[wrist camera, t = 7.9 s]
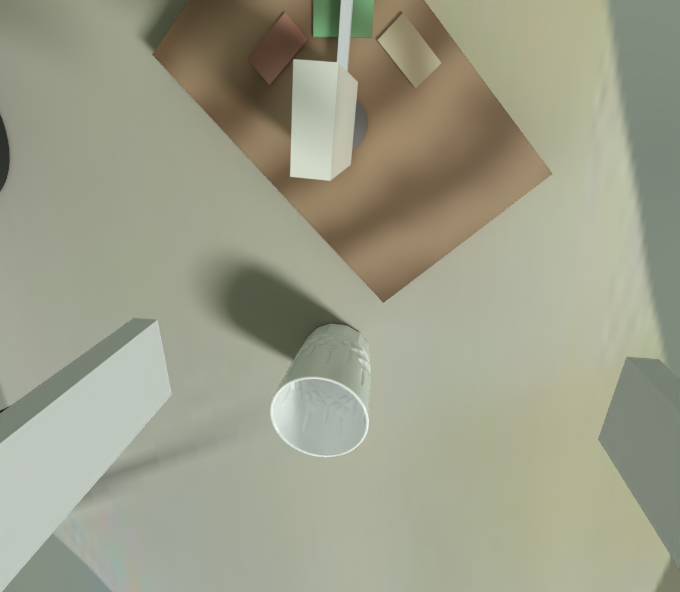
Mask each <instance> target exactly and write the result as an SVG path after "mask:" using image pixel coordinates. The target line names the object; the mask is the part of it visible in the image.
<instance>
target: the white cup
mask: <svg viewBox="0 0 680 592" xmlns="http://www.w3.org/2000/svg"><path fill="white" fill-rule="evenodd" d="M369 405H370V352H369V346H368V343H367V342H366V341H365V339H364V338H363V337H362V335H361V334H360V333H359V332H358V331H356V330H354V329H352V328H351V327H349V326H347V325H341V324H332V323H331V324H327V325H324V326H321V327H318V328H316V329H315V330H314V331H313V332H312V333H311V334H310V335H309V336H308V337H307V339H306V341H305V342H304V344H303V346H302V347H301V349H300V350H299V352H298V353H297V355H296V357H295V359H294V360H293V362H292V363H291V365H290V367H289V369H288V371H287V372H286V374H285V376H284V378H283V380H282V382H281V383H280V385H279V387H278V389H277V391H276V392H275V394H274V396H273V398H272V401H271V404H270V418H271V422H272V424H273V427H274V429H275V430H276V432H277V433H278V435H279V436H280V437H281V438H282V439H283V440H284V441H285V442H286V443H287V444H289V445H290V446H291V447H293V448H295V449H296V450H298V451H301V452H303V453H306V454H309V455H313V456H319V457H334V456H339V455H343V454H345V453H348V452H350V451H352V450H353V449H355V448H356V447H357V446H358V445H359V444H360V443H361V442H362V441H363V439H364V438H365V436H366V434H367V431H368V426H369Z"/></svg>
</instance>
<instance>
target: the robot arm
mask: <svg viewBox="0 0 680 592" xmlns="http://www.w3.org/2000/svg"><path fill="white" fill-rule="evenodd" d="M8 169H9V145H8V139H7V135H6V131H5V127H4V124H3V121H2V118H1V116H0V191H1V189H2V188H3V186H4V183H5V181H6V178H7V174H8ZM171 395H172V393H171V388H170V383H169V378H168V372H167V367H166V362H165V357H164V352H163V347H162V342H161V337H160V331H159V326H158V321H157V320H153V319H140V318H133V319H132V320H130V321H129V322H128V323H126V324H125V325H123V326H122V327H121V328H119V329H118V330H116V331H115V332H114V333H112V334H111V335H109V336H108V337H107V338H105V339H104V340H102V341H101V342H100V343H98V344H97V345H95V346H94V347H93V348H91V349H90V350H88V351H87V352H86V353H84V354H83V355H81V356H80V357H79V358H77V359H76V360H74V361H73V362H72V363H70V364H69V365H67V366H66V367H65V368H63V369H62V370H60V371H59V372H58V373H56V374H55V375H53V376H52V377H50V378H49V379H48V380H46V381H45V382H43V383H42V384H41V385H39V386H38V387H36V388H35V389H34V390H32V391H31V392H29V393H28V394H27V395H25V396H24V397H22V398H21V399H20V400H18V401H17V402H15V403H14V404H13V405H11V406H9V407H7V408H5V409H3V410H1V411H0V592H2V591H3V589H4V588H5V587H6V586H7V585H8V584H9V583H10V581H11V580H12V579H13V578H14V577H15V576H16V574H17V573H18V572H19V571H20V570H21V569H22V567H23V566H24V565H25V564H26V563H27V562H28V561H29V559H30V558H31V557H32V556H33V555H34V554H35V552H36V551H37V550H38V549H39V548H40V547H41V545H42V544H43V543H44V542H45V541H46V539H48V537H49V536H50V535H51V534H52V533H53V532H54V530H55V529H56V528H57V527H58V526H59V525H60V523H61V522H62V521H63V520H64V519H65V518H66V516H67V515H68V514H69V513H70V512H71V511H72V510H73V508H74V507H75V506H76V505H77V504H78V503H79V501H80V500H81V499H82V498H83V497H84V496H85V494H86V493H87V492H88V491H89V490H90V489H91V488H92V486H93V485H94V484H95V483H96V482H97V481H98V479H99V478H100V477H101V476H102V475H103V474H104V472H105V471H106V470H107V469H108V468H109V467H110V465H111V464H112V463H113V462H114V461H115V460H116V459H117V457H118V456H119V455H120V454H121V453H122V452H123V450H124V449H125V448H126V447H127V446H128V445H129V443H130V442H131V441H132V440H133V439H134V438H135V437H136V435H137V434H138V433H139V432H140V431H141V430H142V428H143V427H144V426H145V425H146V424H147V423H148V421H149V420H150V419H151V418H152V417H153V416H154V414H155V413H156V412H157V411H158V410H159V409H160V408H161V406H162V405H163V404H164V403H165V402H166V401H167V399H168V398H169V397H170V396H171ZM598 439H599V441H600V443H601V444H602V446H603V447H604V449H605V451H606V452H607V454H608V455H609V457H610V459H611V460H612V462H613V463H614V465H615V467H616V468H617V470H618V472H619V473H620V475H621V476H622V478H623V480H624V481H625V483H626V484H627V486H628V488H629V489H630V491H631V492H632V494H633V496H634V497H635V499H636V500H637V502H638V504H639V505H640V507H641V508H642V510H643V512H644V513H645V515H646V516H647V518H648V520H649V521H650V523H651V524H652V526H653V528H654V529H655V531H656V532H657V534H658V536H659V537H660V539H661V540H662V542H663V544H664V545H665V547H666V548H667V550H668V552H669V553H670V555H671V557H672V558H673V560H674V561H675V562H676V565H677V566H678V568H679V569H680V379H679V377H678V376H676V375H675V374H674V373H673V372H672V371H671V370H670V369H669V368H668V367H667V366H666V365H665V364H663V363H662V362H661V361H660V360H659V359H648V358H635V357H626V360H625V363H624V366H623V369H622V372H621V375H620V377H619V380H618V383H617V386H616V389H615V392H614V395H613V398H612V401H611V404H610V406H609V409H608V412H607V415H606V418H605V421H604V424H603V427H602V430H601V433H600V435H599V438H598Z"/></svg>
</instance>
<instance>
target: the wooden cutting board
mask: <svg viewBox="0 0 680 592" xmlns="http://www.w3.org/2000/svg"><path fill="white" fill-rule="evenodd" d="M340 8H341V0H189V1H188V2H187V4H186V5H185V7H184V8H183V10H182V11H181V13H180V14H179V16H178V17H177V19H176V20H175V22H174V23H173V25H172V26H171V27H170V29H169V30H168V32H167V33H166V35H165V36H164V38H163V39H162V41H161V42H160V44H159V45H158V47H157V48H156V50H155V51H154V53H153V54H152V55H153V56H154V57H155V58H156V59H157V60H158V61H159V62H160V63H161V64H162V65H163V66H164V68H165V69H166V70H167V71H168V72H169V73H170V74H171V75H172V76H173V77H174V78H175V79H176V80H177V81H178V83H179V84H180V85H181V86H182V87H183V88H184V89H185V90H186V91H187V92H188V93H189V94H190V95H191V97H192V98H193V99H194V100H195V101H196V102H197V103H198V104H199V105H200V106H201V107H202V108H203V109H204V110H205V112H206V113H207V114H208V115H209V116H210V117H211V118H212V119H213V120H214V121H215V122H216V123H217V124H218V126H219V127H220V128H221V129H222V130H223V131H224V132H225V133H226V134H227V135H228V136H229V137H230V138H231V140H232V141H233V142H234V143H235V144H236V145H237V146H238V147H239V148H240V149H241V150H242V151H243V152H244V153H245V155H246V156H247V157H248V158H249V159H250V160H251V161H252V162H253V163H254V164H255V165H256V166H257V167H258V169H259V170H260V171H261V172H262V173H263V174H264V175H265V176H266V177H267V178H268V179H269V180H270V181H271V182H272V184H273V185H274V186H275V187H276V188H277V189H278V190H279V191H280V192H281V193H282V194H283V195H284V196H285V198H286V199H287V200H288V201H289V202H290V203H291V204H292V205H293V206H294V207H295V208H296V209H297V210H298V211H299V213H300V214H301V215H302V216H303V217H304V218H305V219H306V220H307V221H308V222H309V223H310V224H311V225H312V227H313V228H314V229H315V230H316V231H317V232H318V233H319V234H320V235H321V236H322V237H323V238H324V239H325V240H326V242H327V243H328V244H329V245H330V246H331V247H332V248H333V249H334V250H335V251H336V252H337V253H338V254H339V256H340V257H341V258H342V259H343V260H344V261H345V262H346V263H347V264H348V265H349V266H350V267H351V268H352V270H353V271H354V272H355V273H356V274H357V275H358V276H359V277H360V278H361V279H362V280H363V281H364V282H365V283H366V285H367V286H368V287H369V288H370V289H371V290H372V291H373V292H374V293H375V294H376V295H377V296H378V297H379V299H380V300H381V301H382V302H383V303H384V302H385V301H386V300H388V299H389V298H390V297H392V296H393V295H394V294H395V293H397V292H398V291H399V290H401V289H402V288H403V287H405V286H406V285H407V284H409V283H410V282H411V281H413V280H414V279H415V278H416V277H418V276H419V275H420V274H422V273H423V272H424V271H426V270H427V269H428V268H430V267H431V266H432V265H434V264H435V263H436V262H437V261H439V260H440V259H441V258H443V257H444V256H445V255H447V254H448V253H449V252H451V251H452V250H453V249H455V248H456V247H457V246H458V245H460V244H461V243H462V242H464V241H465V240H466V239H468V238H469V237H470V236H472V235H473V234H474V233H475V232H477V231H478V230H479V229H481V228H482V227H483V226H485V225H486V224H487V223H489V222H490V221H491V220H493V219H494V218H495V217H496V216H498V215H499V214H500V213H502V212H503V211H504V210H506V209H507V208H508V207H510V206H511V205H512V204H514V203H515V202H516V201H517V200H519V199H520V198H521V197H523V196H524V195H525V194H527V193H528V192H529V191H531V190H532V189H533V188H534V187H536V186H537V185H538V184H540V183H541V182H542V181H544V180H545V179H546V178H548V177H549V176H550V175H552V173H551V171H550V170H549V168H548V167H547V166H546V164H545V163H544V162H543V160H542V159H541V158H540V156H539V155H538V154H537V152H536V151H535V150H534V148H533V147H532V146H531V144H530V143H529V141H528V140H527V139H526V137H525V136H524V135H523V133H522V132H521V131H520V129H519V128H518V127H517V125H516V124H515V123H514V121H513V120H512V118H511V117H510V116H509V114H508V113H507V112H506V110H505V109H504V108H503V106H502V105H501V104H500V102H499V101H498V100H497V98H496V97H495V96H494V94H493V93H492V91H491V90H490V89H489V87H488V86H487V85H486V83H485V82H484V81H483V79H482V78H481V77H480V75H479V74H478V73H477V71H476V70H475V68H474V67H473V66H472V64H471V63H470V62H469V60H468V59H467V58H466V56H465V55H464V54H463V52H462V51H461V50H460V48H459V47H458V46H457V44H456V43H455V41H454V40H453V39H452V37H451V36H450V35H449V33H448V32H447V31H446V29H445V28H444V27H443V25H442V24H441V23H440V21H439V20H438V18H437V17H436V16H435V14H434V13H433V12H432V10H431V9H430V8H429V6H428V5H427V4H426V2H425V1H424V0H353V10H352V23H351V36H350V49H349V62H348V73H349V74H350V75H351V76H352V77H353V78H354V79H355V80H356V81H357V82H358V88H357V100H356V111H355V123H354V134H353V146H352V157H351V165H350V166H349V167H347V168H346V169H345V170H343V171H342V172H341V173H340V174H338V175H337V176H336V177H335V178H333V179H332V180H331V181H327V180H317V179H307V178H297V177H290V162H291V126H292V89H293V59H298V60H312V61H325V62H337V53H338V38H339V23H340Z"/></svg>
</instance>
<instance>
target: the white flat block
mask: <svg viewBox="0 0 680 592" xmlns="http://www.w3.org/2000/svg"><path fill="white" fill-rule="evenodd" d="M352 10H353V0H341V8H340V23H339V38H338V53H337V62H325V61H312V60H298V59H293V89H292V126H291V162H290V177H297V178H307V179H317V180H327V181H331V180H332V179H333V178H335V177H336V176H337V175H338V174H340V173H341V172H342V171H343V170H345V169H346V168H347V167H349V166H350V165H351V157H352V146H353V134H354V123H355V111H356V100H357V88H358V82H357V81H356V80H355V79H354V78H353V77H352V76H351V75H350V74H349V73H348V62H349V49H350V36H351V23H352Z"/></svg>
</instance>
